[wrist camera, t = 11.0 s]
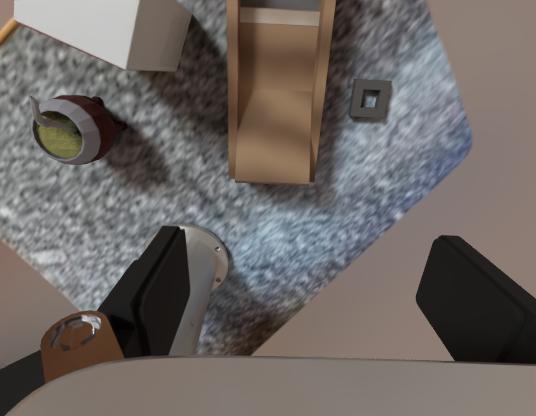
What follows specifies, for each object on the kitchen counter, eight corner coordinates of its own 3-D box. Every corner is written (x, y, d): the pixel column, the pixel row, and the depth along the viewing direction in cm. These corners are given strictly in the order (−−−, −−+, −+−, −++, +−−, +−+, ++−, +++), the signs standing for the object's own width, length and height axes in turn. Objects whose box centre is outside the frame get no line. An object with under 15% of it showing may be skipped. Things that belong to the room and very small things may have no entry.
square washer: (381, 116, 35) (384, 117, 34) (348, 115, 35) (350, 116, 34) (388, 80, 33) (391, 80, 32) (354, 79, 33) (356, 79, 32)
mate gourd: (78, 149, 36) (-36, 192, 23) (65, 82, 33) (-77, 86, 20) (136, 154, 37) (58, 200, 23) (129, 88, 33) (33, 96, 20)
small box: (106, 41, 31) (8, 20, 20) (118, -25, 29) (14, -94, 17) (177, 74, 33) (126, 72, 21) (194, 13, 30) (146, -27, 19)
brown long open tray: (309, 170, 38) (317, 190, 31) (233, 167, 37) (225, 186, 31) (341, -124, 26) (366, -191, 19) (231, -130, 26) (218, -201, 19)
